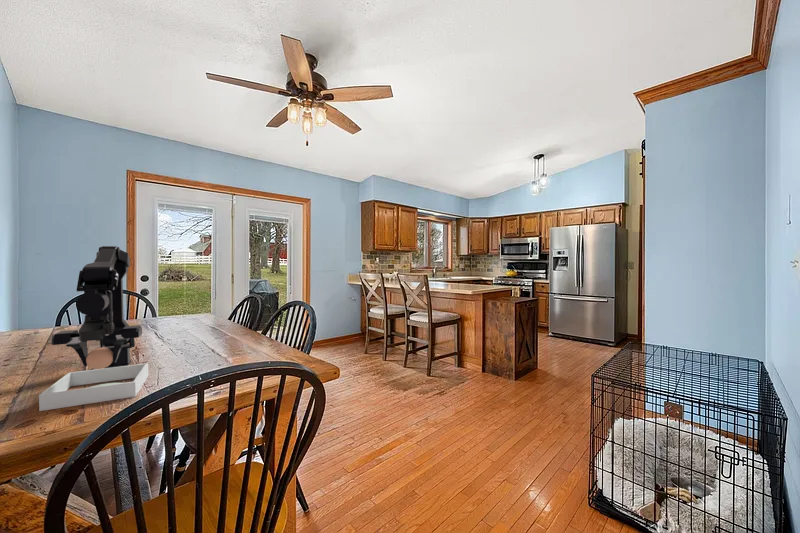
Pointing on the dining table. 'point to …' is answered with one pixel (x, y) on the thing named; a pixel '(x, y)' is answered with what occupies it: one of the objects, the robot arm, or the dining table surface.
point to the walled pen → (98, 393)
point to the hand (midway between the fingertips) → (100, 364)
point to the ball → (99, 358)
